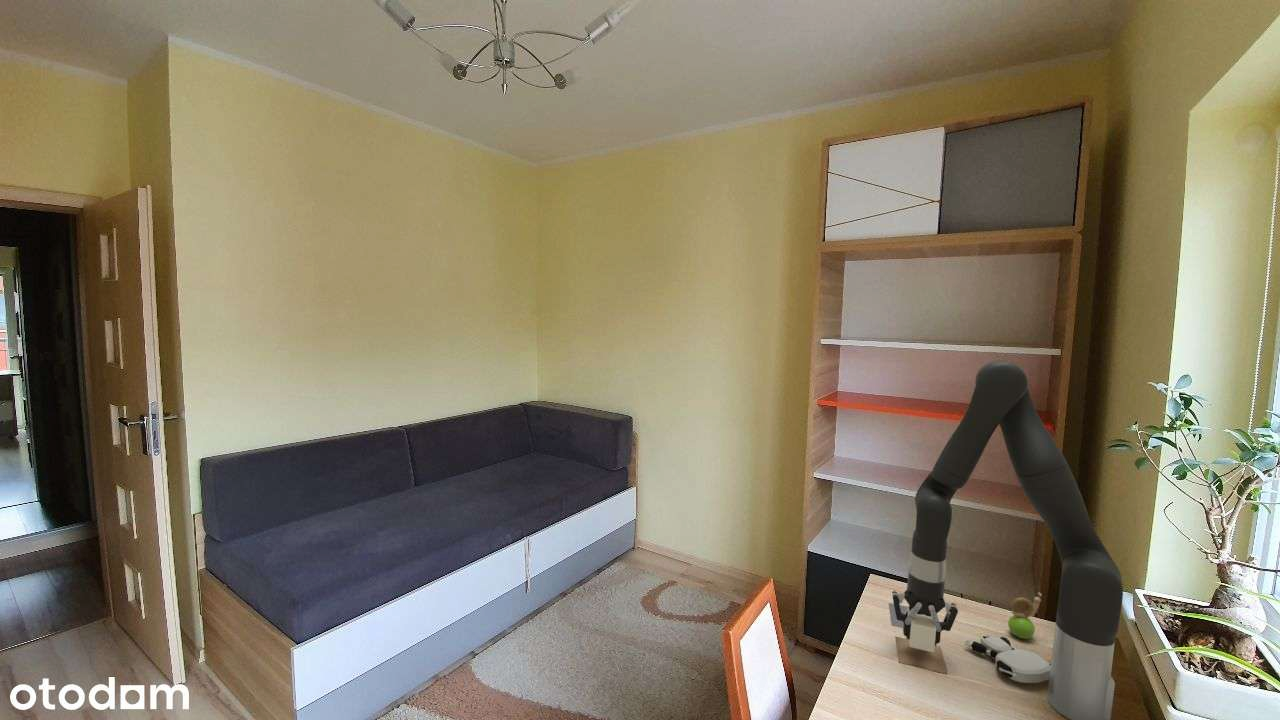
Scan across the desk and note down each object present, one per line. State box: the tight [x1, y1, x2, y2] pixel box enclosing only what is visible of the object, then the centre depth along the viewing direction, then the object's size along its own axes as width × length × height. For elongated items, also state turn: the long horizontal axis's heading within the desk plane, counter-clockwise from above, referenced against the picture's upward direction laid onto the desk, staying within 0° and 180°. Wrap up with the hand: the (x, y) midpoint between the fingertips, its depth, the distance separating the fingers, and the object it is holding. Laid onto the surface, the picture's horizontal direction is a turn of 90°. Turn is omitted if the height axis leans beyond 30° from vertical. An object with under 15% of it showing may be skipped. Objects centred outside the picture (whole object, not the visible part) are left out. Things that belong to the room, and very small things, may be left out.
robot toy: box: [964, 635, 1051, 684], centre depth 120 cm, size 12×4×15 cm
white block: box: [909, 614, 936, 653], centre depth 123 cm, size 5×5×6 cm
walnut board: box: [894, 635, 949, 676], centre depth 124 cm, size 10×10×1 cm
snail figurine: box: [1007, 592, 1043, 640], centre depth 131 cm, size 5×6×12 cm
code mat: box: [888, 602, 908, 629], centre depth 138 cm, size 11×11×1 cm
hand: (920, 639), depth 124 cm, fingers closed on white block, 5 cm apart
